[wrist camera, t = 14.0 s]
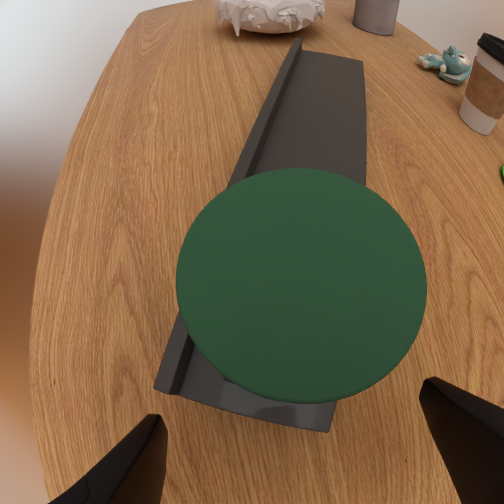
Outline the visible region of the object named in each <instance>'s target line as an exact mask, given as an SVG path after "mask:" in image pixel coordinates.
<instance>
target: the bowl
mask: <svg viewBox="0 0 504 504" xmlns="http://www.w3.org/2000/svg"><path fill="white" fill-rule="evenodd" d="M213 5H214V8H215V11H216V15H217V18H218V20H219V21H220V22H221V23H222V24H223V22H224V20H225V19H226V20H228V21H229V22H230V23H232V24H233V26H234V29H235V32H236V36H239V31H240V28H241V29H244V30H248V31H254V32H262V33H270V34H278V33H289V32H294V31H298V30H299V29H302V28H304V27H307V26H308V25H309V24H311V23H312V22H313V21H314V20H315V19H316V18H317V17H319V16H320V18H321V20H323V17H325V0H213ZM223 25H224V24H223ZM321 27H322V26H321Z"/></svg>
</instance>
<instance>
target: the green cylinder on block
mask: <svg viewBox="0 0 504 504" xmlns="http://www.w3.org/2000/svg"><path fill="white" fill-rule="evenodd" d="M176 291H177V301H178V305H179V309H180V313H181V317H182V319H183V322H184V324H185V327H186V329H187V331H188V334H189V335H190V337H191V339H192V340H193V342H194V344H195V345H196V347H197V349H198V350H199V351H200V352H201V354H202V355H203V356H204V357H205V358H206V360H207V361H208V362H209V363H210V364H211V365H212V366H213V367H214V368H215V369H216V370H218V371H219V372H220V373H221V374H222V375H223V376H224V377H223V380H225V381H228V382H231V383H235V384H236V385H238V386H239V387H241V388H243V389H246V390H248V391H250V392H252V393H254V394H256V395H258V396H261V397H264V398H267V399H271V400H275V401H280V402H287V403H294V404H318V403H325V402H332V401H337V400H340V399H343V398H346V397H350V396H353V395H355V394H357V393H359V392H361V391H363V390H365V389H367V388H369V387H371V386H372V385H374V384H375V383H377V382H378V381H380V380H381V379H383V378H384V377H385V376H386V375H387V374H388V373H390V372H391V371H392V370H393V369H394V368H395V367H396V366H397V365H398V364H399V362H400V361H401V360H402V359H403V357H404V356H405V355H406V354H407V352H408V351H409V349H410V347H411V345H412V344H413V342H414V340H415V338H416V336H417V334H418V331H419V329H420V326H421V323H422V320H423V316H424V311H425V307H426V296H427V282H426V273H425V267H424V262H423V259H422V255H421V252H420V249H419V247H418V245H417V242H416V240H415V238H414V236H413V234H412V233H411V231H410V229H409V228H408V226H407V224H406V223H405V222H404V220H403V219H402V218H401V217H400V215H399V214H398V213H397V212H396V211H395V210H394V209H393V208H392V207H391V206H390V205H389V204H388V203H387V202H386V201H385V200H384V199H383V198H381V197H380V196H379V195H378V194H376V193H375V192H373V191H372V190H370V189H369V188H367V187H366V186H364V185H362V184H360V183H358V182H356V181H354V180H352V179H350V178H347V177H344V176H342V175H339V174H335V173H332V172H328V171H323V170H317V169H309V168H284V169H277V170H271V171H267V172H263V173H259V174H256V175H253V176H250V177H248V178H245V179H243V180H241V181H239V182H237V183H235V184H233V185H231V186H230V187H228V188H227V189H225V190H224V191H223V192H221V193H220V194H218V195H217V196H216V197H215V198H214V199H213V200H212V201H210V202H209V203H208V204H207V206H206V207H205V208H204V209H203V210H202V211H201V212H200V213H199V215H198V216H197V218H196V219H195V221H194V222H193V224H192V225H191V227H190V229H189V231H188V233H187V235H186V237H185V239H184V242H183V245H182V248H181V251H180V254H179V259H178V264H177V270H176Z"/></svg>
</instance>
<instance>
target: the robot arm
mask: <svg viewBox="0 0 504 504" xmlns="http://www.w3.org/2000/svg"><path fill="white" fill-rule="evenodd" d="M419 401H420V404H421V407H422V410H423V412H424V415H425V418H426V421H427V424H428V427H429V430H430V432H431V435H432V437H433V439H434V441H435V443H436V445H437V448H438V450H439V452H440V454H441V456H442V459H443V461H444V463H445V465H446V467H447V470H448V472H449V474H450V477H451V479H452V481H453V484H454V486H455V489H456V491H457V493H458V496H459V498H460V501H461V503H462V504H504V409H503V408H501V407H499V406H497V405H494V404H492V403H490V402H488V401H486V400H484V399H482V398H479V397H477V396H475V395H473V394H471V393H469V392H467V391H465V390H463V389H460V388H458V387H456V386H454V385H452V384H450V383H448V382H446V381H444V380H442V379H440V378H438V377H435V376H433V377H430V378H427V379H425V380H424V382H423V385H422V388H421V391H420V394H419ZM167 443H168V431H167V428H166V426H165V423H164V421H163V418H162V416H161V415H159V414H148V415H147V416H146V417H145V418H144V419H143V420H142V421H141V422H140V423H139V424H138V425H137V426H136V427H135V428H134V429H133V430H132V431H131V432H130V433H128V434H127V435H126V436H125V437H124V438H123V439H122V440H121V441H120V442H119V443H118V444H117V445H116V446H115V447H114V448H113V449H112V450H111V451H110V452H109V453H108V454H107V455H106V456H105V457H103V458H102V459H101V460H100V461H99V462H98V463H97V464H96V465H95V466H94V467H93V468H92V469H91V470H90V471H89V472H87V473H86V475H84V476H83V477H82V478H81V479H80V480H79V481H77V482H76V483H75V484H74V485H73V486H72V487H70V488H69V489H68V490H67V491H65V492H64V493H63V494H61V495H60V496H58V497H57V498H56V499H54V500H53V501H51V502H50V503H48V504H160V501H161V496H162V490H163V485H164V479H165V473H166V459H167Z"/></svg>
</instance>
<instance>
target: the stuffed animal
mask: <svg viewBox="0 0 504 504" xmlns="http://www.w3.org/2000/svg"><path fill="white" fill-rule="evenodd" d="M417 60H418V62H419V63H420V64H422V66H423V67H424V68H430V67H432V68H433V69H440V71H441V72H442V73H441V72H440V73H439V76H440V77H442V78H443V79H444V80H446V81H447V82H450V83H452V84H459V83H461V82H463V81H465V80H466V79H467V78H468V77H469V75H470V72H471V63H470V60H469V59H468V58H467V57H466V56H464V55H463V53H462V52H460V51H457V49H456V48H455V47H454V46H452V45H450V47H449V49H446V50H444V52H443V56H441V55H437V54H433V53H427V54H425V55H424V57H423V56H419V57H418V59H417ZM445 72H446V73H447V74H443V73H445Z"/></svg>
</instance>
